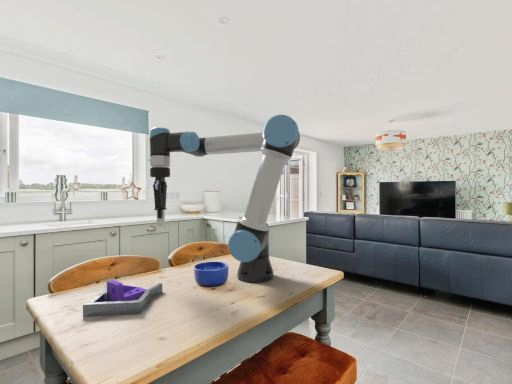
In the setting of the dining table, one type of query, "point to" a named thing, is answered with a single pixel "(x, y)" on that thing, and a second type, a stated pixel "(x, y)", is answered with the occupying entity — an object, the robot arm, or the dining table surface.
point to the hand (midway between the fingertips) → (160, 226)
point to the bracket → (122, 292)
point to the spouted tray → (119, 304)
